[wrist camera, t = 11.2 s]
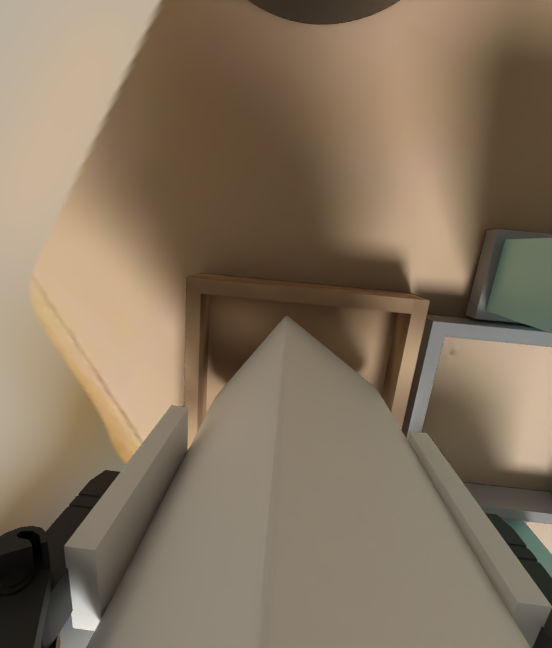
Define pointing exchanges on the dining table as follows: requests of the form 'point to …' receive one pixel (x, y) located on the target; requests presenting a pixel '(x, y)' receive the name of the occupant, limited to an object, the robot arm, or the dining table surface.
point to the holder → (500, 305)
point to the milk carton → (303, 527)
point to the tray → (312, 315)
